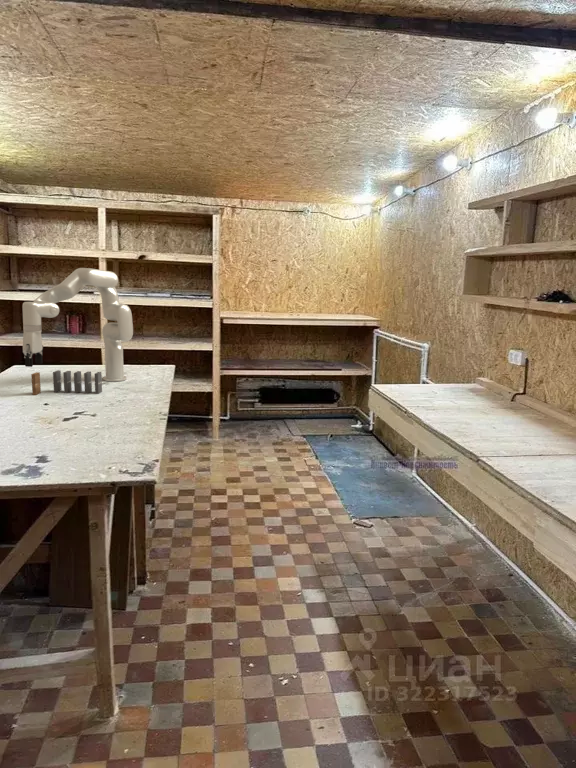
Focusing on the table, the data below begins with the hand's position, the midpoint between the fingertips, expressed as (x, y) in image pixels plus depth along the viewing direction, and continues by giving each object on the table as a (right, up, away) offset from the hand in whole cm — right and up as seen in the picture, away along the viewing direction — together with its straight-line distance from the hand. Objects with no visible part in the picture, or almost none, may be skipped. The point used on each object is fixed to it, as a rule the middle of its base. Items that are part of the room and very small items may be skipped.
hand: (34, 365), depth 241 cm
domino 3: (+12, -13, +10) cm, 20 cm away
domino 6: (+27, -13, +11) cm, 32 cm away
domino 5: (+22, -13, +10) cm, 27 cm away
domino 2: (+7, -13, +10) cm, 18 cm away
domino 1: (0, -14, +3) cm, 14 cm away
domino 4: (+17, -13, +10) cm, 24 cm away
